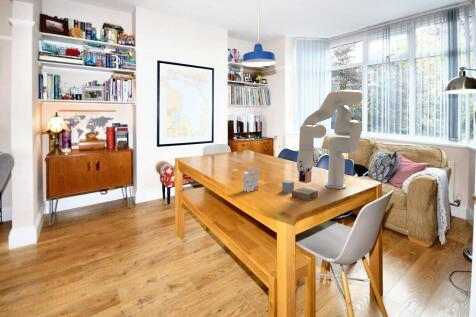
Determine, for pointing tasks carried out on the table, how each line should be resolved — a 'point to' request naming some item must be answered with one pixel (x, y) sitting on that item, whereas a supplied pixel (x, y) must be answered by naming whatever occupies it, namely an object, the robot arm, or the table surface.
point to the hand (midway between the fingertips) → (304, 180)
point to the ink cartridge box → (250, 179)
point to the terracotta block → (307, 176)
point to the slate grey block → (287, 186)
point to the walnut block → (304, 194)
